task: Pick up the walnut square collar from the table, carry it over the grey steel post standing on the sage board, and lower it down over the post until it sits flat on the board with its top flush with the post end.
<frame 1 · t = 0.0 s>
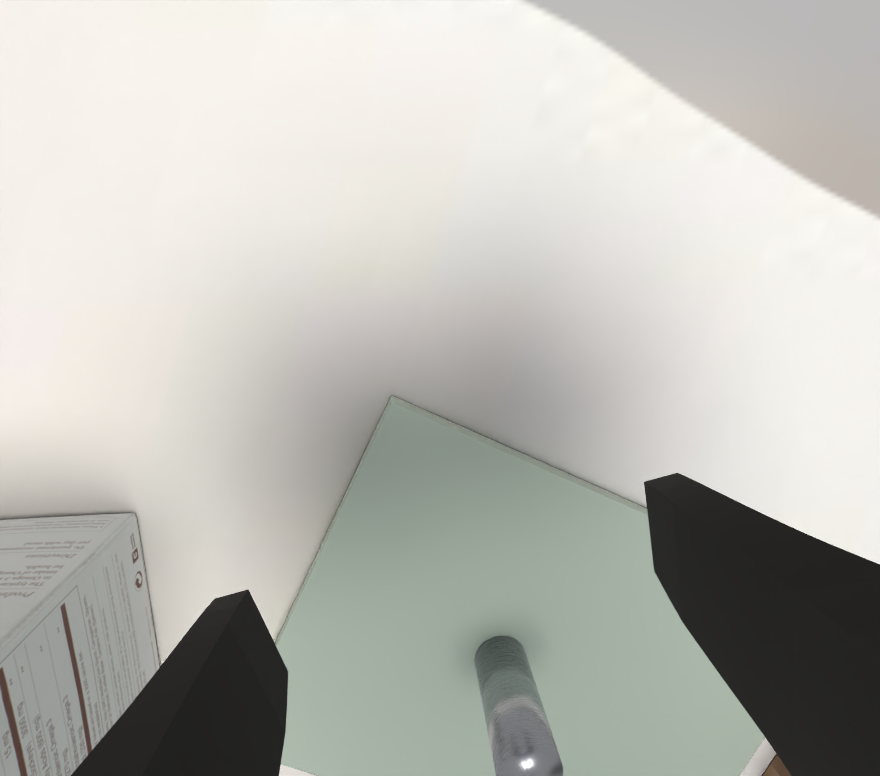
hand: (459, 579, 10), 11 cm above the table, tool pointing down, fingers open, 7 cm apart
grey steel post: (495, 641, 22), resting on sage board
sage board: (539, 657, 23), on the table
walnut collar: (842, 751, 25), on the table
supplement box: (58, 601, 21), on the table
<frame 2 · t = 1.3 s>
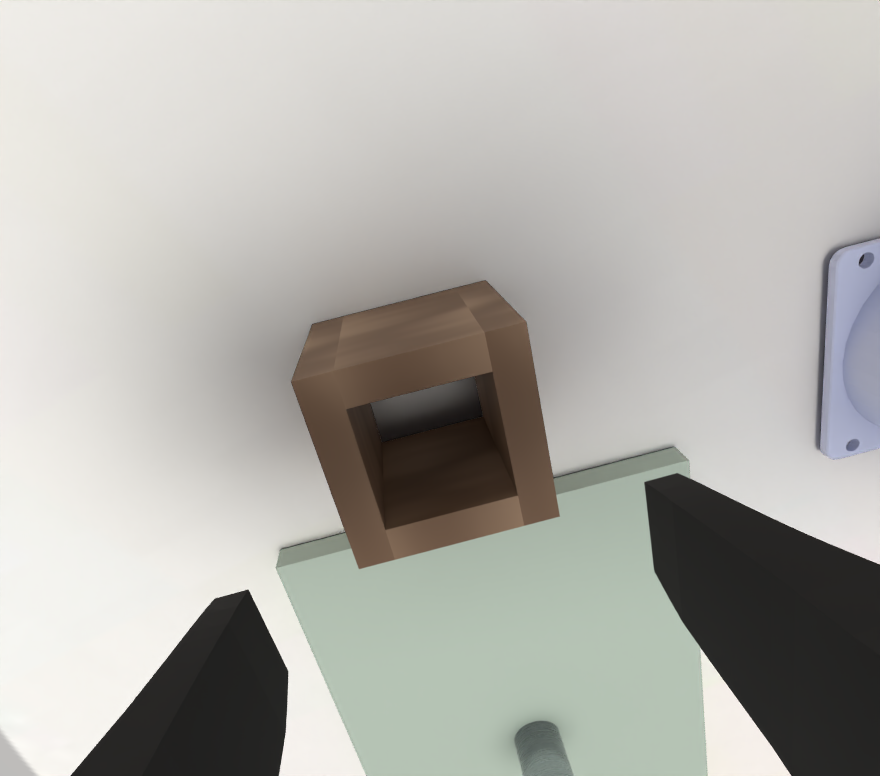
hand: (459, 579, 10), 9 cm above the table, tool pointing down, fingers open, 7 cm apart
grey steel post: (530, 716, 25), resting on sage board
sage board: (523, 685, 24), on the table
walnut collar: (420, 382, 19), on the table
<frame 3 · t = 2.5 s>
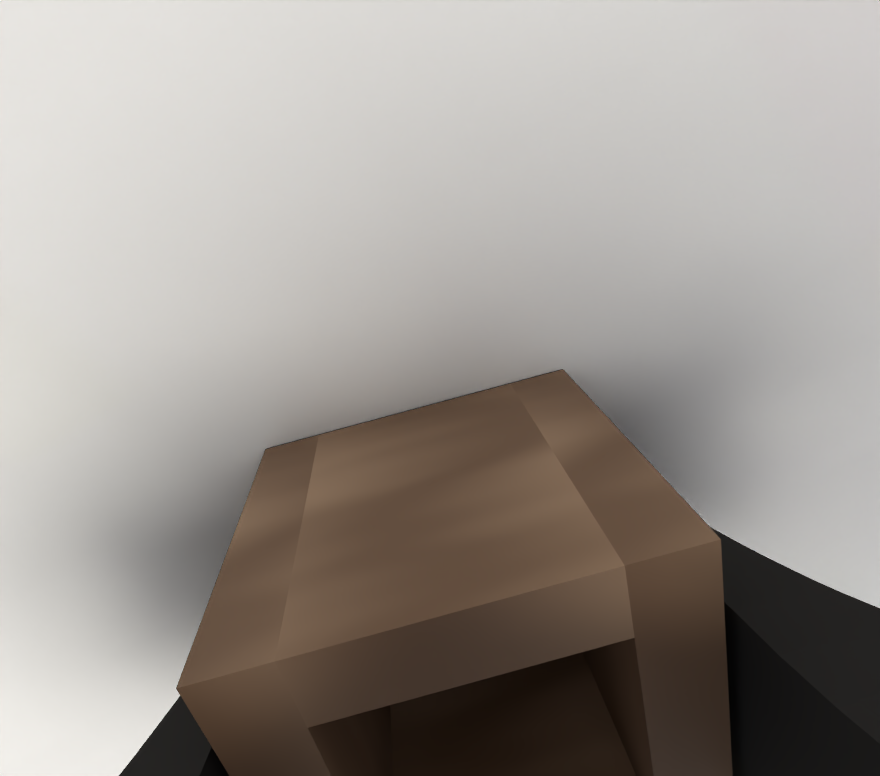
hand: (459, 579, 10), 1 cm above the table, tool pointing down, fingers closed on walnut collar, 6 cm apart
walnut collar: (449, 531, 11), on the table, touching gripper
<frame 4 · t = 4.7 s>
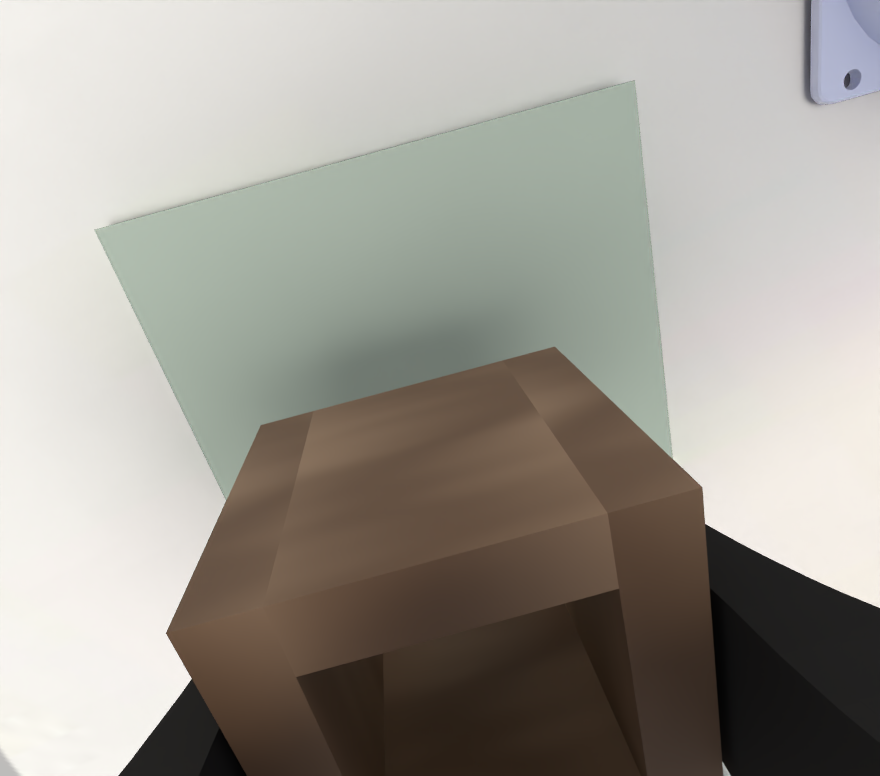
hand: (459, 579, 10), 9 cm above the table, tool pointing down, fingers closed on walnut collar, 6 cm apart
sage board: (450, 452, 20), on the table
walnut collar: (443, 509, 11), point 8 cm above the table, touching gripper
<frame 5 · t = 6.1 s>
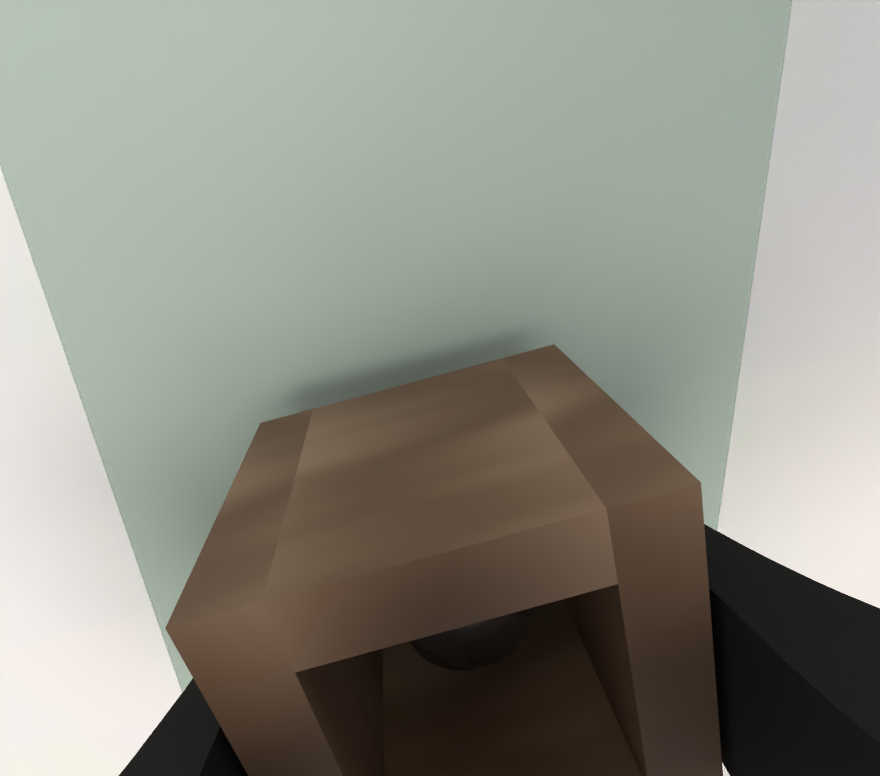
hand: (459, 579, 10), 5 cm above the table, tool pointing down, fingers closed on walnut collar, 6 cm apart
grey steel post: (433, 447, 14), resting on sage board
sage board: (426, 376, 14), on the table
walnut collar: (443, 507, 11), point 3 cm above the table, touching gripper
when the fingers open (3 cm above the table, at t = 7.1 s): walnut collar stays where it is, resting on sage board.
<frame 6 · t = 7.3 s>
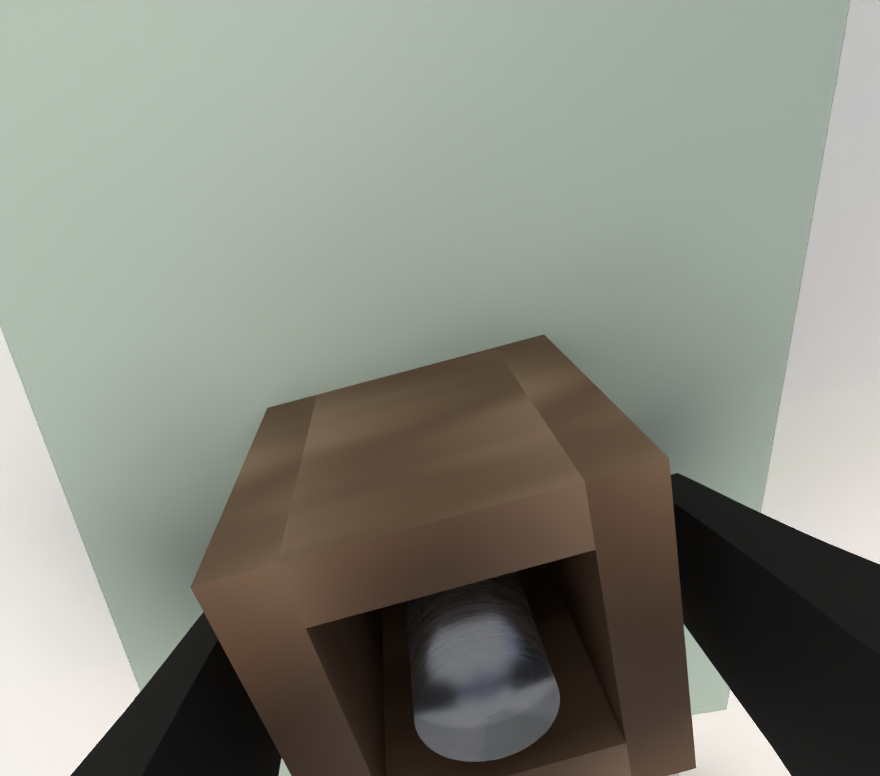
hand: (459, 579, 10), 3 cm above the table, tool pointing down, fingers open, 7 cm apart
grey steel post: (438, 479, 13), resting on sage board
sage board: (432, 401, 12), on the table
walnut collar: (439, 488, 12), point 1 cm above the table, touching sage board
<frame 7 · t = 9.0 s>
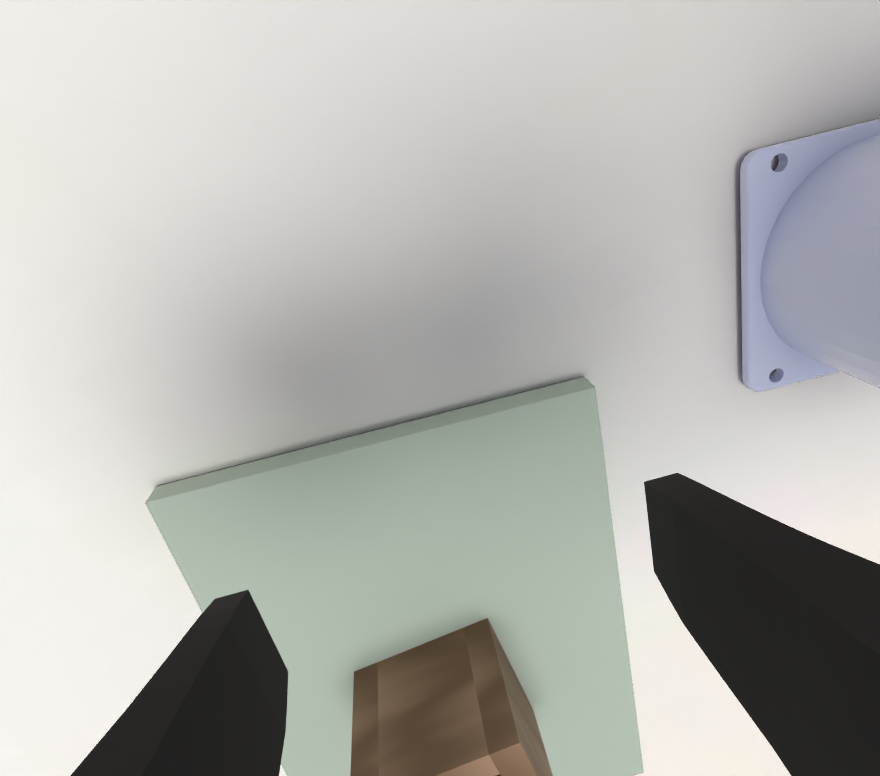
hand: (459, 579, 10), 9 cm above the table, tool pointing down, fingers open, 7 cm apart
sage board: (437, 642, 23), on the table
walnut collar: (447, 691, 23), point 1 cm above the table, touching sage board
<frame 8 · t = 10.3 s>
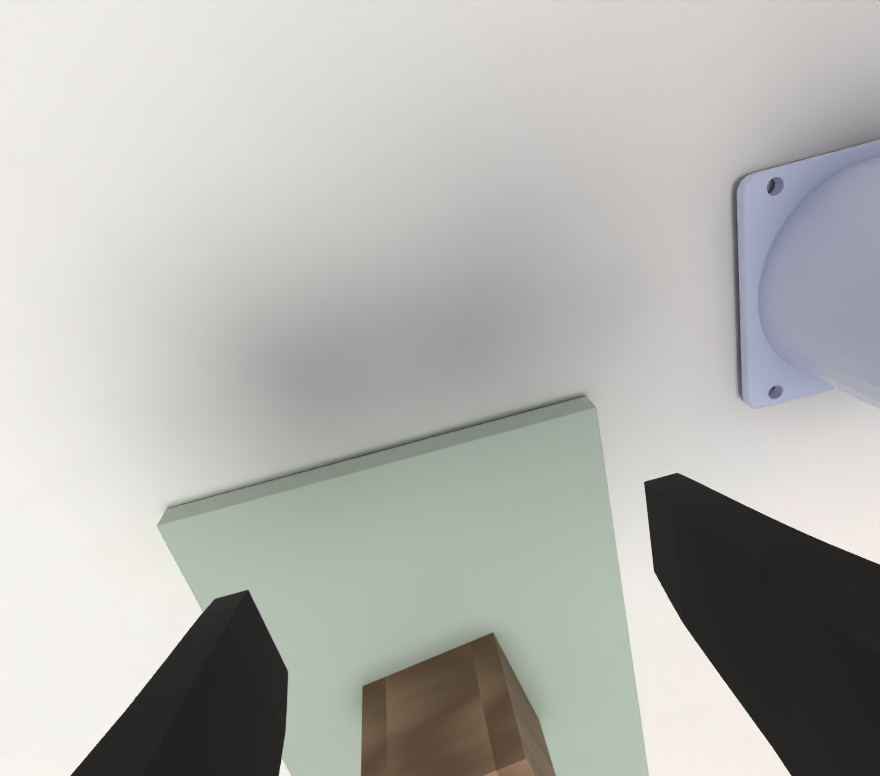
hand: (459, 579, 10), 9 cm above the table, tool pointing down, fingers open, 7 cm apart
sage board: (444, 655, 23), on the table
walnut collar: (454, 703, 23), point 1 cm above the table, touching sage board
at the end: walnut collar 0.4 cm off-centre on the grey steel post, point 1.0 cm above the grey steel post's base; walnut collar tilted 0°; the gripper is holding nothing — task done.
